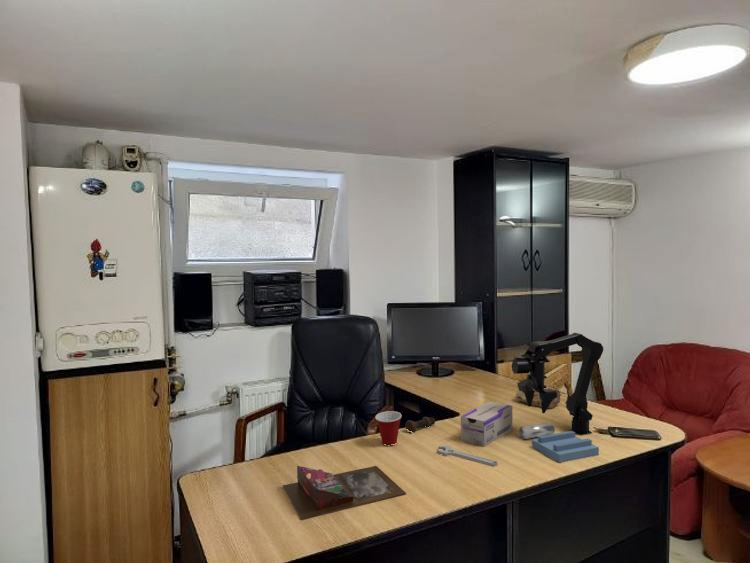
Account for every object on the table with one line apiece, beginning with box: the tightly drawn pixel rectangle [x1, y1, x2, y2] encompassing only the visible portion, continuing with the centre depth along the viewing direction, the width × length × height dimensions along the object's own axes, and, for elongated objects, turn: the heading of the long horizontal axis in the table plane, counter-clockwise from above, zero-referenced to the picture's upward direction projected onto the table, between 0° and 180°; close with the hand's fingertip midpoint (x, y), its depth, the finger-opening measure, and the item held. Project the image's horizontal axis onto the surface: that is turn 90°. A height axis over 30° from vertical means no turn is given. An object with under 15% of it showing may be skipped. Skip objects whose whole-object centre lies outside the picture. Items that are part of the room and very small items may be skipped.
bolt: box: [404, 416, 436, 433], centre depth 222 cm, size 6×5×15 cm
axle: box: [518, 422, 556, 440], centre depth 209 cm, size 14×5×5 cm, turn 109°
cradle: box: [531, 430, 600, 464], centre depth 193 cm, size 18×16×5 cm
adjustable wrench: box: [436, 445, 499, 467], centre depth 189 cm, size 25×6×2 cm, turn 47°
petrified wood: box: [515, 385, 562, 409], centre depth 252 cm, size 19×13×10 cm
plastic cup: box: [374, 410, 402, 445], centre depth 204 cm, size 11×11×12 cm
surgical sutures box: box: [460, 401, 514, 448], centre depth 211 cm, size 25×11×11 cm, turn 139°
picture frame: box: [282, 465, 407, 521], centre depth 165 cm, size 24×35×8 cm
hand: (536, 409), depth 208 cm, fingers open, 9 cm apart
